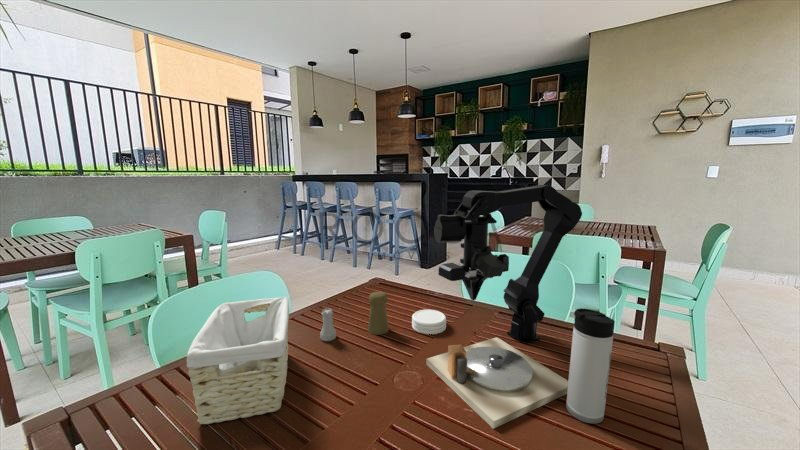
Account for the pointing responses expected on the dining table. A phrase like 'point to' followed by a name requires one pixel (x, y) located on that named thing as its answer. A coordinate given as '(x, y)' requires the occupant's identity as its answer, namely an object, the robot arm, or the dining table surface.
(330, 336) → the white chess piece
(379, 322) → the cork
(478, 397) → the birch base board
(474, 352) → the flange plate
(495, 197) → the robot arm
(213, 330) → the storage basket
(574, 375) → the travel mug
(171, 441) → the dining table surface
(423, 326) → the coaster
